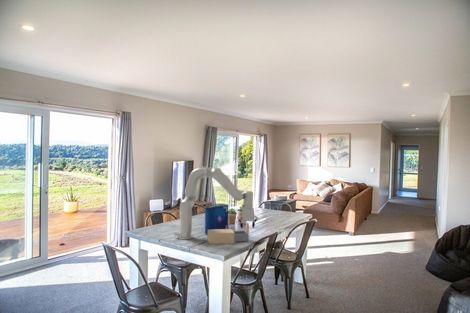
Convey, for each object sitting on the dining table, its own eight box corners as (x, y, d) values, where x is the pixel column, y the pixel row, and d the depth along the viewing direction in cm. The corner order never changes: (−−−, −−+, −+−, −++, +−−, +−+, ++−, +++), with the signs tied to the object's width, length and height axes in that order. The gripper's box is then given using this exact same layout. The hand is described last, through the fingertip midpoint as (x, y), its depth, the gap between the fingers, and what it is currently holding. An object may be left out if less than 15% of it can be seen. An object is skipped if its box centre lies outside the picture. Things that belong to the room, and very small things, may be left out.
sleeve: (209, 243, 242) (209, 233, 242) (207, 239, 254) (207, 229, 254) (234, 242, 246) (234, 232, 246) (231, 238, 258) (231, 228, 258)
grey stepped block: (224, 241, 246) (225, 225, 246) (222, 238, 255) (222, 222, 255) (249, 240, 250) (249, 225, 250) (246, 237, 260) (246, 222, 260)
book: (207, 236, 264) (208, 206, 264) (203, 234, 270) (204, 205, 270) (228, 232, 277) (229, 204, 277) (224, 231, 283) (224, 203, 283)
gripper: (238, 207, 249) (238, 229, 249) (259, 207, 253) (259, 228, 253) (236, 205, 256) (235, 226, 257) (256, 205, 260) (256, 226, 260)
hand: (247, 227), depth 255 cm, fingers open, 9 cm apart
